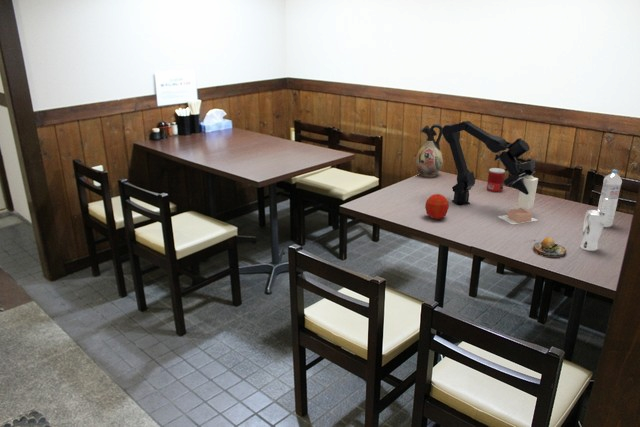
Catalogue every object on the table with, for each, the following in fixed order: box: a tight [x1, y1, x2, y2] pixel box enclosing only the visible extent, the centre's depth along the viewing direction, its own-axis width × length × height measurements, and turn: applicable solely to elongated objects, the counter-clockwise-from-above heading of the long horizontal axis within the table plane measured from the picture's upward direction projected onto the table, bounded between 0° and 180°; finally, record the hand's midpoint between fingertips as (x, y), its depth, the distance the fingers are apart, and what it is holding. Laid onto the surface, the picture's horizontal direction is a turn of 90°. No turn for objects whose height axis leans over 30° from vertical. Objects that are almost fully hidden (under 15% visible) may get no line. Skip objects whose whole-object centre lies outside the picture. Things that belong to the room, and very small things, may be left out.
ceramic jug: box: [414, 123, 444, 178], centre depth 289 cm, size 17×15×30 cm
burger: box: [532, 237, 567, 259], centre depth 199 cm, size 12×12×8 cm
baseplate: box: [497, 214, 538, 225], centre depth 229 cm, size 14×10×1 cm
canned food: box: [486, 167, 506, 193], centre depth 267 cm, size 8×8×11 cm
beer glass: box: [579, 209, 606, 252], centre depth 200 cm, size 7×7×15 cm
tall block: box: [516, 175, 539, 210], centre depth 225 cm, size 5×5×14 cm
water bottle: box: [597, 169, 623, 229], centre depth 220 cm, size 7×7×25 cm
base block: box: [507, 207, 533, 224], centre depth 227 cm, size 7×7×4 cm
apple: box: [424, 193, 450, 220], centre depth 231 cm, size 10×10×12 cm
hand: (530, 192), depth 224 cm, fingers closed on tall block, 5 cm apart
